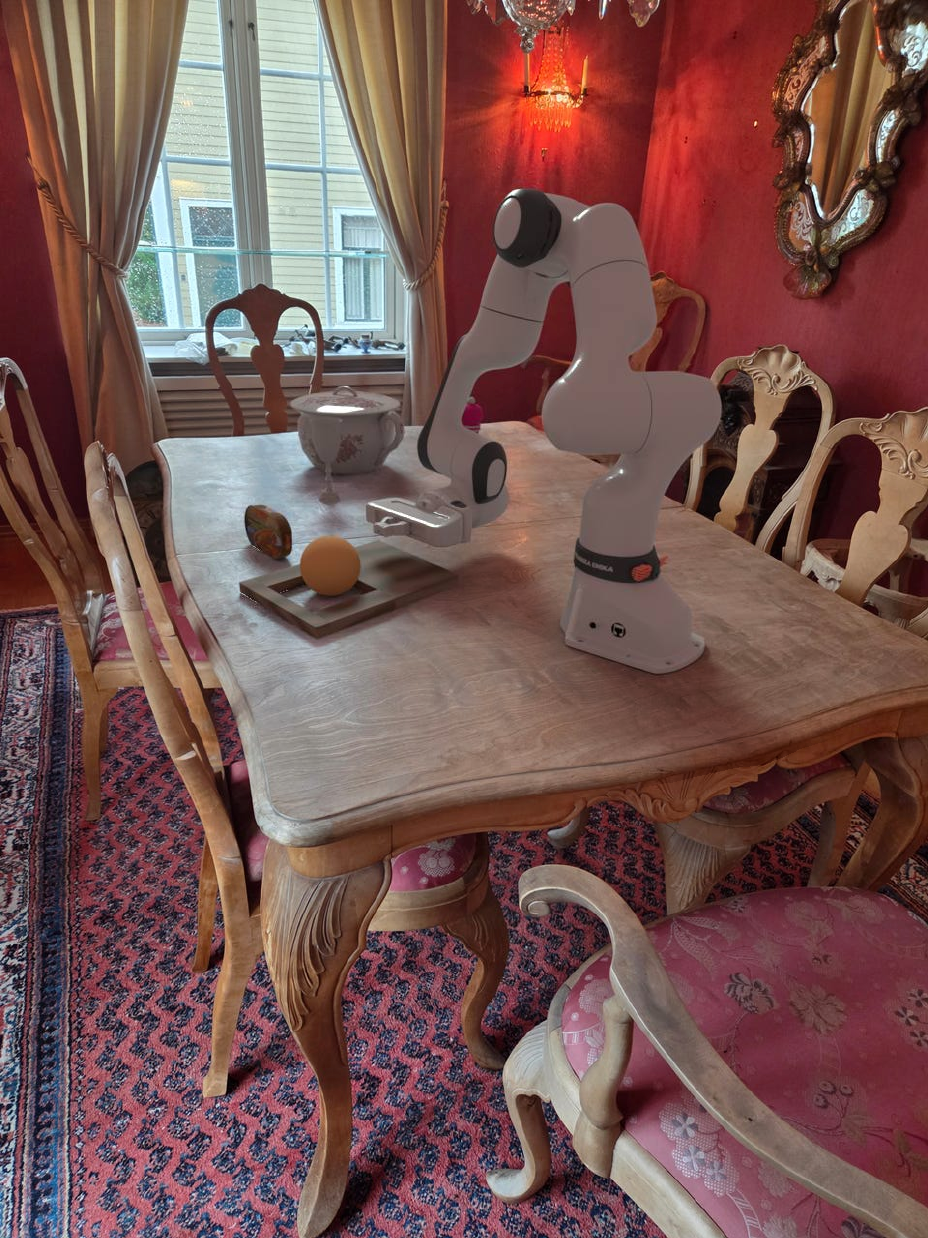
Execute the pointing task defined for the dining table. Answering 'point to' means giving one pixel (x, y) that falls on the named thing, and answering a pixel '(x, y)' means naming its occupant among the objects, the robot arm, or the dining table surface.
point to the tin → (268, 531)
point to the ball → (330, 565)
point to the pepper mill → (472, 416)
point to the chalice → (327, 450)
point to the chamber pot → (352, 428)
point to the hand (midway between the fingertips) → (378, 530)
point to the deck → (382, 580)
